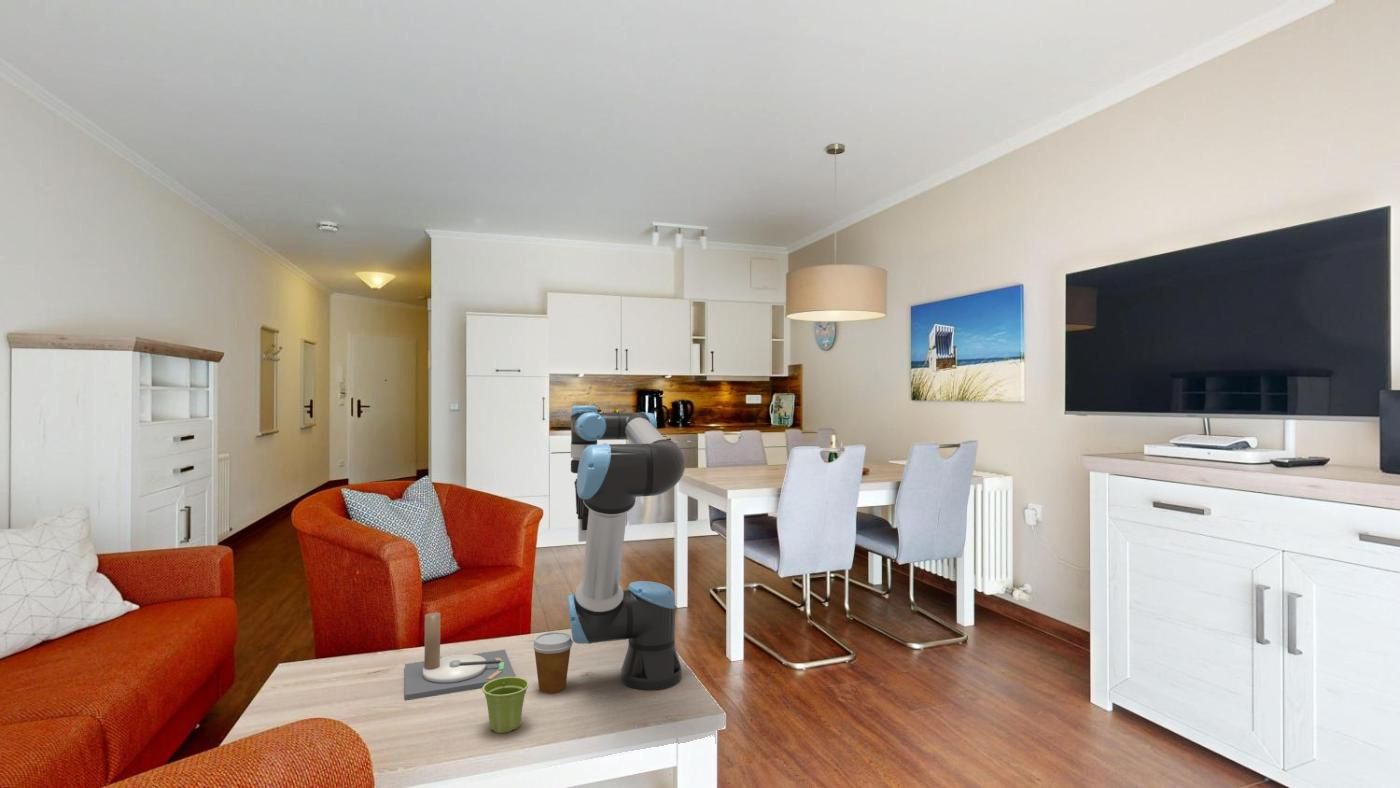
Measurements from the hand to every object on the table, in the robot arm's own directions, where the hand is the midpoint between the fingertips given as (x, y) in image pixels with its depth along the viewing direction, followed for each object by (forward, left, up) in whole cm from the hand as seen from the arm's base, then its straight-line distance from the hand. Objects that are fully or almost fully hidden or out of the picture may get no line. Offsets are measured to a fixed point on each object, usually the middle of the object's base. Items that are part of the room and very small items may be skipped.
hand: (583, 540), depth 188 cm
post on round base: (-9, +35, -28) cm, 46 cm away
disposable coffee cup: (-26, +14, -30) cm, 42 cm away
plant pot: (-41, +27, -30) cm, 57 cm away
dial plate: (-9, +35, -29) cm, 47 cm away
